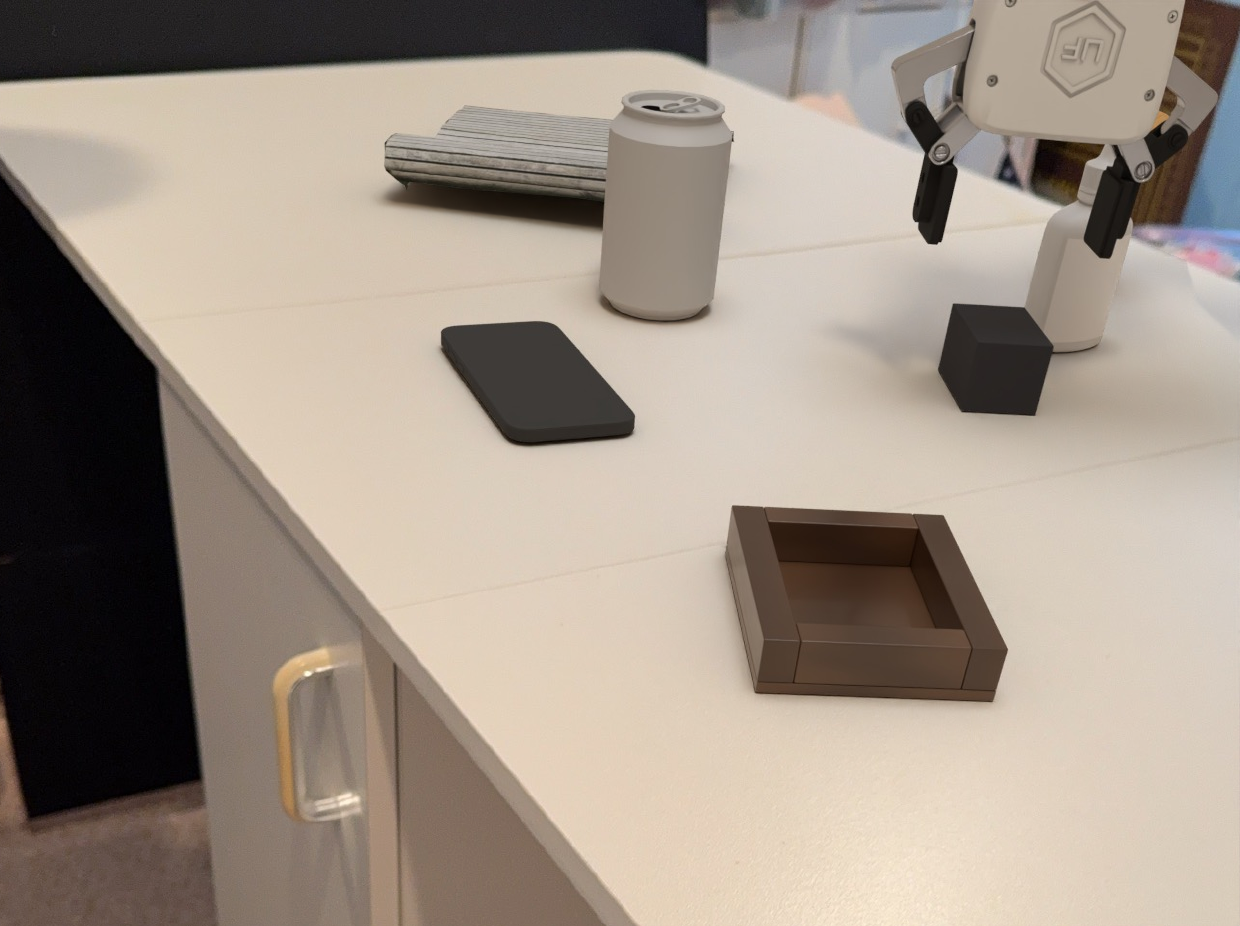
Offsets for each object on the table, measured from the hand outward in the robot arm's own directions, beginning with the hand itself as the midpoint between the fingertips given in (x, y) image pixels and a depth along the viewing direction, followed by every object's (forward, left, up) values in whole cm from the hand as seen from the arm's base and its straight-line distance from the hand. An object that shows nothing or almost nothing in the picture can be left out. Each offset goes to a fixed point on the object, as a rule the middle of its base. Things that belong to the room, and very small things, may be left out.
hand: (1012, 244), depth 81 cm
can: (+19, -12, -9) cm, 24 cm away
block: (0, 0, -8) cm, 8 cm away
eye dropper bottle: (-7, -9, -9) cm, 14 cm away
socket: (+13, +28, -8) cm, 32 cm away
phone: (+27, +3, -8) cm, 28 cm away
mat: (+24, -39, -9) cm, 46 cm away
